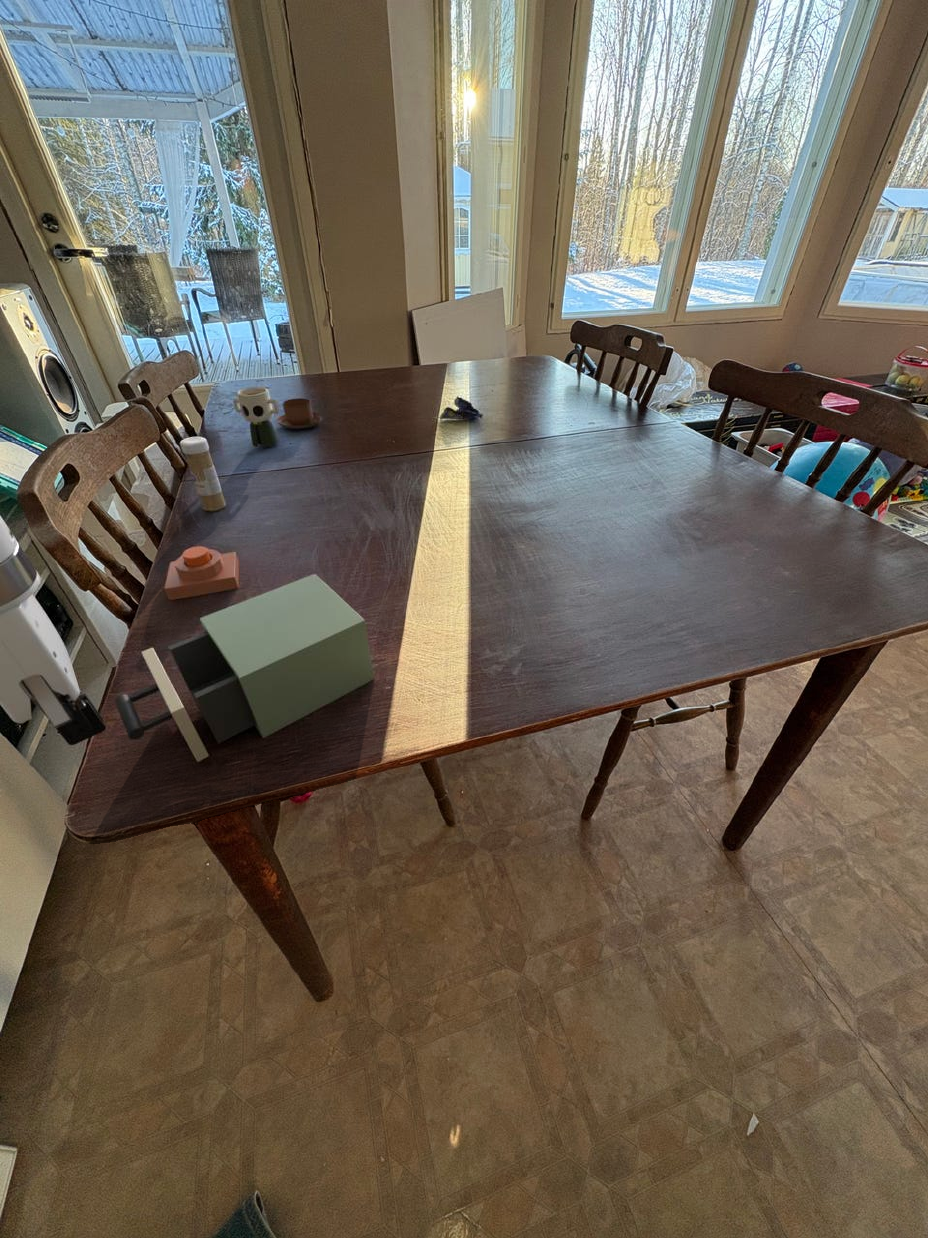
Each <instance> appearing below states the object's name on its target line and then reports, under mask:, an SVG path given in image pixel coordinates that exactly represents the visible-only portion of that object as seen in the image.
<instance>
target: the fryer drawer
mask: <svg viewBox="0 0 928 1238" xmlns="http://www.w3.org/2000/svg"><path fill="white" fill-rule="evenodd" d="M167 649H168V651H169V652H170V655H171V657H172V659H173V661H174V663H175V665H176V666H177V669H178V671H179V673H180V675H181V677H182V679H183V681H184V683H185V686H186V687H187V689H188V692H189V693H190V695H191V697H192V699H193V701H194V702H195V704H196V706H197V708H198V709H199V711H200V713H201V715H202V717H203V719H204V720H205V722H206V725H207V726H208V728H209V730H210V731H211V733H212V735H213V737H214V739H215V741H216V743H217V744H221V743H223V742H225V741H227V740H229V739H231V738H233V737H235V736H237V735H238V734H241V733H243V732H244V731H246V730H248V729H250V728H252V727H255V725H256V721H255V719H254V716H253V714H252V711H251V709H250V706H249V704H248V701H247V699H246V696H245V694H244V691H243V689H242V686H241V683H240V681H239V679H238V677H237V676H236V674H235V673H234V671H233V670H232V668H231V667H230V665H229V664H228V662H227V661H226V659H225V658H224V656H223V655H222V653H221V652H220V650H219V649H218V647H217V646H216V644H215V643H214V641H213V640H212V638H211V637H210V635H209V634H208V632H207V631H206V632H205V631H203V632H201V633H199V634H197V635H193V636H191V637H189V638H186V639H184V640H181V641H179V642H177V643H176V642H175V643H174V644H171V645H169V646H167ZM140 653H141V655H142V657H143V659H144V661H145V663H146V665H147V667H148V669H149V671H150V673H151V676H152V678H153V680H154V682H155V683H154V684H153V685H150V686H148V687H145V688H144V689H141V690H139V691H136V692H134V693H132V694H126V693H123V694H119V695H118V696H116V698H115V699H114V703H115V706H116V708H117V711H118V713H119V717H120V718H121V721H122V724H123V726H124V729H125V731H126V734H127V737H128V739H129V740H134V741H135V740H139V739H141V738H143V736H144V735H145V733H146V731H149V730H150V729H152V728H155V727H157V726H158V725H161V724H163V723H165V722H167V721H170V720H171V719H173V720H174V722H175V723H176V725H177V727H178V729H179V731H180V733H181V735H182V736H183V738H184V740H185V743H186V744H187V746H188V748H189V750H190V752H191V753H192V755H193V757H194V758H195V760H196V762H197V763H199V762H201V761H202V760H204V759H206V758H208V757H209V756H210V755H209V753H208V751H207V749H206V747H205V745H204V743H203V741H202V740H201V737H200V735H199V734H198V732H197V730H196V728H195V725H194V724H193V722H192V720H191V718H190V716H189V714H188V712H187V710H186V709H185V706H184V705H183V703H182V701H181V698H180V697H179V695H178V693H177V691H176V689H175V687H174V685H173V683H172V681H171V679H170V678H169V676H168V673H167V672H166V670H165V667H164V666H163V663H162V662H161V660H160V659H159V657H158V655H157V653H156V651H155V649H154V647H150V648H147V649H145V650H143V651H141V652H140ZM157 692H160V694H161V696H162V698H163V701H164V702H165V704H166V707H167V709H168V711H166V712H164V713H162V714H159V715H157V716H156V717H154V718H150V719H149V720H147V721H144V722H143V723H142V721H141V720H140V717H139V715H138V712H137V710H136V707H135V705H134V703H135V702H137V701H139V700H142V699H144V698H147V697H148V696H151V695H153V694H155V693H157Z"/></svg>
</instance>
